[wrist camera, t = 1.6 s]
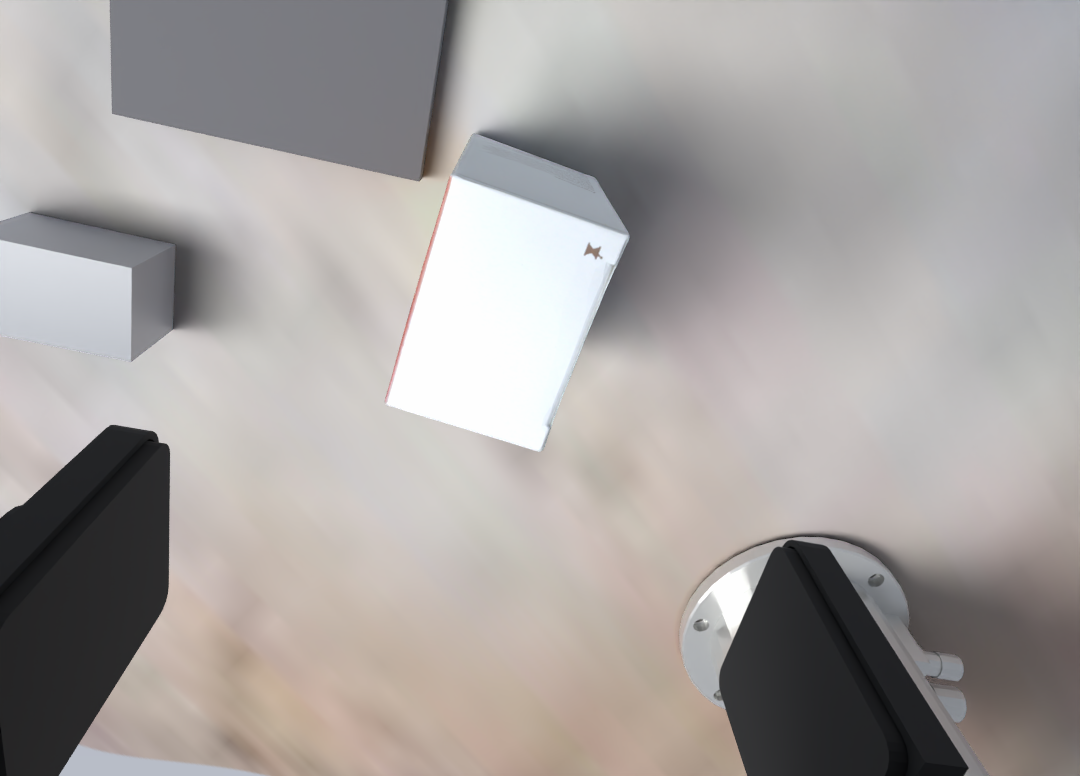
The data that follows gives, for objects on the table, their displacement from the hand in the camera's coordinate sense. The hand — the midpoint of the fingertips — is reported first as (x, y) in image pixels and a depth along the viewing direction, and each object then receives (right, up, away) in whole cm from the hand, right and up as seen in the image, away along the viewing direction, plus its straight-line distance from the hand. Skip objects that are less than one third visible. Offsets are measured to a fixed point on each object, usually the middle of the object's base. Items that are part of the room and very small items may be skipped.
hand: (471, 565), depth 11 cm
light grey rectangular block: (-18, +8, +21) cm, 29 cm away
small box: (0, +9, +21) cm, 23 cm away
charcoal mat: (-8, +18, +16) cm, 26 cm away
